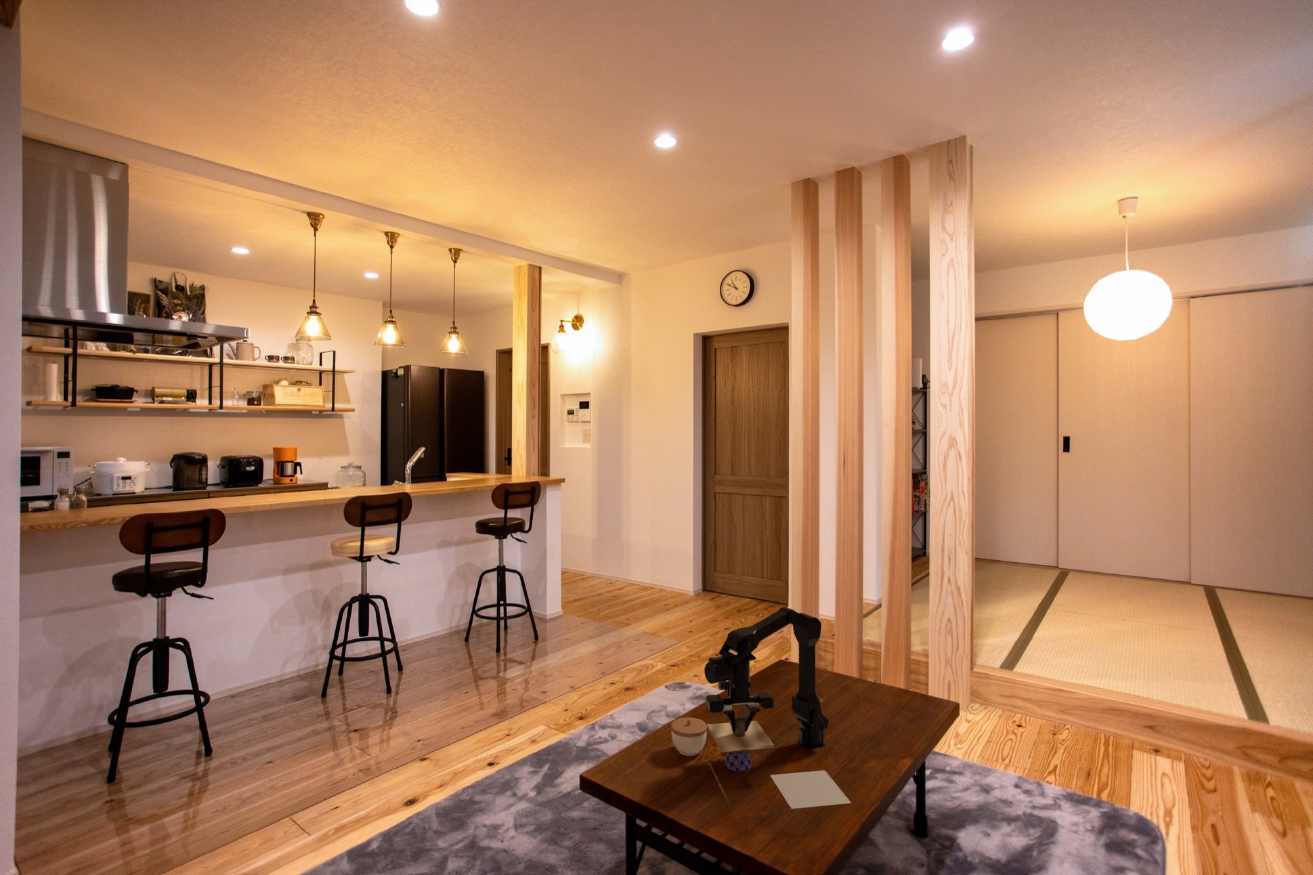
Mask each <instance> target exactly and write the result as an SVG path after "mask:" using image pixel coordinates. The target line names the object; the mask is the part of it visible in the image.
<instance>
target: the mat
mask: <svg viewBox="0 0 1313 875" xmlns="http://www.w3.org/2000/svg"><path fill="white" fill-rule="evenodd" d="M770 778H771V780H773V782H774V784H775V785H776V787H777V789H778V790H779V792H780V793H781V794H782V797H783V798H784V800H785V801H786V803H787V804H788V805H789V808H790V809H791V810H795V809H804V808H805V809H806V808H814V807H815V808H816V807H824V806H825V807H826V806H834V805H835V806H836V805H846V804H847V805H848V804H852V802H851V801H850V799H849V798H848V797H847V796H846V795H845V793H844V792H843V791H842V789H841V788H840V787H839V785H837V783H836V782H835V781H834V779H833V778H831V776H830V775H829V773H828V772H827V771H826V770H816V771H814V770H813V771H801V772H791V773H781V774H780V773H779V774H770Z"/></svg>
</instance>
